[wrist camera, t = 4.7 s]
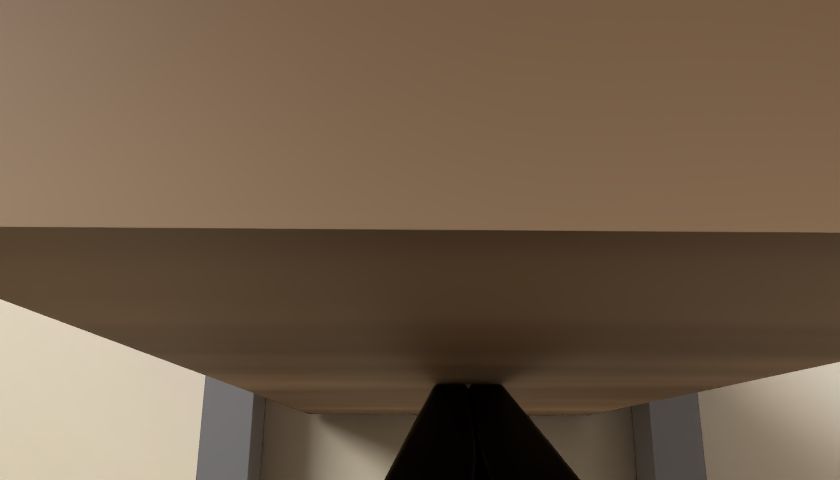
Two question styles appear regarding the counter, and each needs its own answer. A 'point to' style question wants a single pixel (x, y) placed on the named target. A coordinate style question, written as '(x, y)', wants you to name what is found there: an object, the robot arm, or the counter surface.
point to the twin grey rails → (244, 422)
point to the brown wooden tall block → (430, 192)
